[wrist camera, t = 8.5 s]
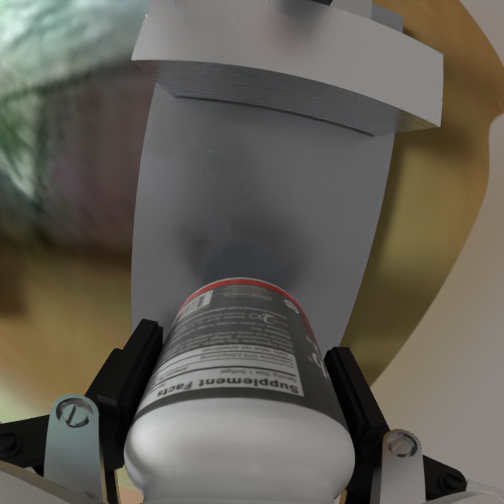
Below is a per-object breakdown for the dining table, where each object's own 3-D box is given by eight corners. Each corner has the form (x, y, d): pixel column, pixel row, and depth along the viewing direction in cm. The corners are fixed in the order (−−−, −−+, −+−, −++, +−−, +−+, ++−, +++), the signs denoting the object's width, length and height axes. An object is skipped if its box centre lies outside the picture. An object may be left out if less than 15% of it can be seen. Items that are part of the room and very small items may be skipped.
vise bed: (195, -19, 10) (175, -83, 4) (394, 23, 11) (447, -19, 5) (140, 379, 18) (112, 444, 12) (307, 402, 18) (323, 470, 12)
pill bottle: (304, 378, 13) (350, 573, 3) (188, 383, 13) (148, 574, 3) (309, 267, 11) (441, 518, 2) (165, 274, 11) (27, 508, 2)
